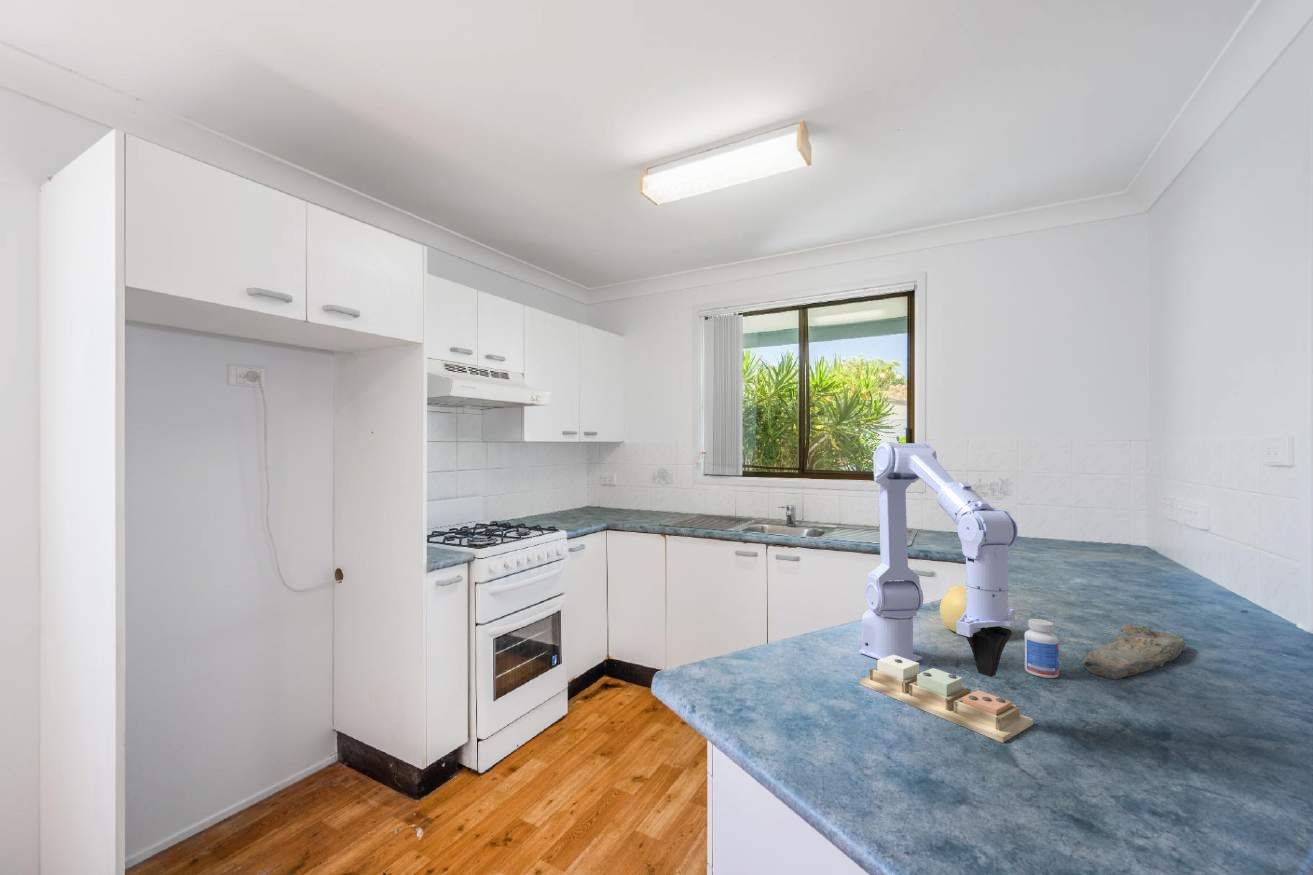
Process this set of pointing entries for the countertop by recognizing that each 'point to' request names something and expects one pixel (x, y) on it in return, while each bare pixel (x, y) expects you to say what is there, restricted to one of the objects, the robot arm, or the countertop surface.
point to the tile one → (898, 667)
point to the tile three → (987, 702)
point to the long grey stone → (1133, 652)
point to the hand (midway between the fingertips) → (986, 673)
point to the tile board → (950, 706)
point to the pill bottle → (1041, 649)
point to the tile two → (939, 682)
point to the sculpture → (953, 606)
